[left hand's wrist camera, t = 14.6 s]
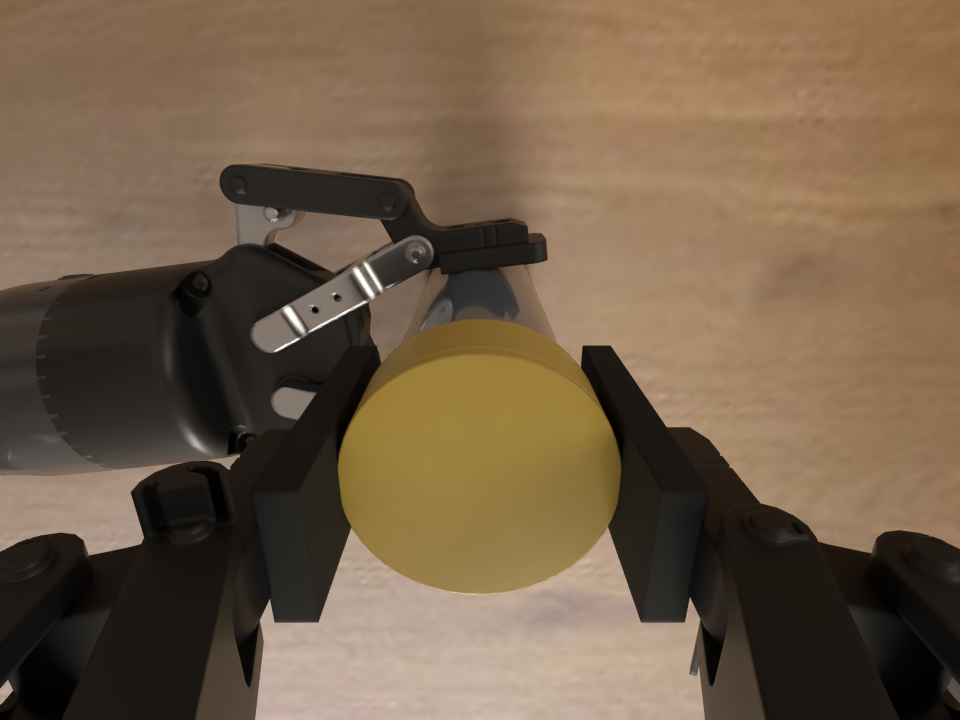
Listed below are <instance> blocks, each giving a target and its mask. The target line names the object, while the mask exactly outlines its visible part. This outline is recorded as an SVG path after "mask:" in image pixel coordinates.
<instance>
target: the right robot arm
mask: <svg viewBox="0 0 960 720" xmlns="http://www.w3.org/2000/svg"><path fill="white" fill-rule="evenodd" d="M220 187H221V190H222V192H223V194H224V195H225V196H226V197H227V198H228V199H229V200H230V201H232V202H234V203H235V207H236V222H237V237H238V245H237V246H235V247H233V248H231V249H230V250H228V251H227V252H226V253H225V254H224V255H223V256H221V257H220V258H219V259H216V260H210V261H202V262H194V263H186V264H178V265H171V266H163V267H155V268H147V269H139V270H131V271H124V272H116V273H108V274H100V275H93V274H78V275H68V276H63V277H62V278H59V279H58V280H54V281H46V282H39V283H33V284H27V285H21V286H16V287H12V288H9V289H5V290H2V291H0V475H34V476H58V475H71V474H81V473H90V472H99V471H109V470H118V469H127V468H136V467H146V466H154V465H164V464H173V463H182V462H190V461H200V460H209V459H219V458H226V457H231V456H236V455H239V454H241V453H242V452H243V451H244V449H245V448H246V447H247V446H248V444H249V443H250V442H251V441H252V440H254V439H255V438H257V437H258V436H260V435H261V434H263V433H265V432H266V431H268V430H269V429H292V428H293V426H294V425H295V423H296V422H297V421H298V419H299V418H300V416H301V415H302V413H303V412H304V410H305V409H306V407H307V406H308V405H309V403H310V402H311V400H312V399H313V397H314V396H315V394H316V393H317V391H318V390H319V389H320V387H321V386H322V384H323V383H324V381H325V380H326V378H327V377H328V375H329V374H330V373H331V371H332V370H333V368H334V367H335V365H336V364H337V362H338V361H339V359H340V358H341V357H342V355H343V354H344V352H345V351H346V349H347V348H348V346H375V344H374V342H373V340H372V338H371V336H370V322H371V313H370V308H369V303H368V302H369V301H371V300H372V299H374V298H376V297H377V296H378V295H380V294H381V293H382V292H384V291H386V290H387V289H389V288H391V287H393V286H395V285H397V284H399V283H401V282H402V281H404V280H406V279H408V278H410V277H412V276H414V275H415V274H417V273H419V272H421V271H423V270H425V269H432V268H440V270H441V275H445V274H453V273H461V272H466V271H475V270H485V269H493V268H501V267H509V266H517V265H525V264H533V263H539V262H543V261H546V260H547V259H548V257H547V244H546V238H545V237H544V236H543V234H541V233H531V234H528V227H527V225H526V224H525V222H523V221H519V220H516V219H512V218H506V219H498V220H490V221H484V222H475V223H467V224H459V225H452V226H438V225H435V224H433V223H432V222H430V221H429V220H428V219H427V218H426V217H425V215H424V213H423V211H422V210H421V208H420V206H419V204H418V202H417V200H416V198H415V192H414V189H413V187H412V186H411V184H410V183H409V182H407V181H406V180H404V179H400V178H391V177H382V176H373V175H364V174H355V173H345V172H336V171H327V170H318V169H309V168H300V167H291V166H282V165H273V164H242V165H230V166H228V167H226V168H225V169H224V170H223V171H222V173H221V175H220ZM305 211H307V212H316V213H326V214H335V215H344V216H354V217H363V218H372V219H380V220H381V222H382V224H383V225H384V227H385V229H386V231H387V232H388V234H389V236H390V238H391V240H392V241H391V242H389V243H388V244H386V245H384V246H382V247H380V248H378V249H376V250H374V251H372V252H370V253H368V254H366V255H364V256H363V257H361V258H359V259H357V260H355V261H354V262H352V263H350V264H348V265H346V266H345V267H343V268H341V269H339V270H337V271H335V272H334V273H333V272H331V271H329V270H327V269H325V268H323V267H321V266H319V265H317V264H315V263H313V262H311V261H309V260H308V259H306V258H304V257H302V256H300V255H298V254H296V253H294V252H292V251H290V250H288V249H286V248H284V247H282V246H280V245H278V244H276V243H274V237H275V234H276V233H277V231H278V230H284V229H287V228H290V227H293V226H295V225H298V224H299V223H300V222H301V221H302V220H303V218H304V215H305ZM377 355H378V368H379V366H380V365H381V360H380V356H379V352H378V350H377Z"/></svg>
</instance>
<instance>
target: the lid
mask: <svg viewBox="0 0 960 720" xmlns="http://www.w3.org/2000/svg"><path fill="white" fill-rule="evenodd" d="M621 470H622V463H621V454H620V451H619V447H618V443H617V439H616V437H615V435H614V432H613V430H612V428H611V426H610V423H609V421H608V419H607V417H606V415H605V413H604V411H603V409H602V407H601V405H600V403H599V401H598V399H597V397H596V395H595V392H594V390H593V388H592V386H591V384H590V382H589V380H588V378H587V377H586V375H585V374H584V372H583V370H582V369H581V367H580V366H579V365H578V364H577V363H576V361H575V360H574V359H573V358H572V357H571V355H569V354H568V353H567V352H566V351H565V350H564V349H563V348H561V347H560V346H559V345H558V344H556V343H555V342H553V341H552V340H550V339H549V338H547V337H546V336H544V335H542V334H540V333H538V332H536V331H534V330H532V329H530V328H527V327H524V326H521V325H518V324H515V323H510V322H505V321H500V320H491V319H468V320H459V321H454V322H448V323H445V324H441V325H438V326H435V327H432V328H429V329H427V330H425V331H423V332H421V333H419V334H417V335H415V336H413V337H412V338H410V339H409V340H407V341H405V342H404V343H402V344H401V345H400V346H399V347H398V348H396V349H395V350H394V351H393V352H392V353H391V354H390V355H389V356H388V357H387V358H386V359H385V360H384V361H383V363H382V364H381V365H380V366H379V368H378V369H377V371H376V372H375V374H374V375H373V377H372V378H371V380H370V382H369V385H368V387H367V389H366V391H365V393H364V395H363V397H362V399H361V401H360V403H359V405H358V407H357V409H356V411H355V413H354V415H353V417H352V419H351V421H350V423H349V426H348V428H347V430H346V432H345V434H344V436H343V439H342V443H341V446H340V450H339V454H338V475H339V484H340V492H341V500H342V507H343V510H344V513H345V515H346V517H347V519H348V521H349V523H350V525H351V527H352V529H353V530H354V532H355V533H356V535H357V536H358V538H359V539H360V540H361V542H362V543H363V544H364V545H365V546H366V547H367V548H368V549H369V551H370V552H371V553H372V554H373V555H374V556H376V557H377V558H378V559H379V560H380V561H382V562H383V563H384V564H385V565H387V566H388V567H390V568H391V569H393V570H394V571H396V572H397V573H399V574H401V575H403V576H405V577H407V578H409V579H411V580H413V581H415V582H418V583H420V584H423V585H426V586H428V587H432V588H435V589H439V590H443V591H448V592H454V593H461V594H476V595H481V594H498V593H505V592H512V591H516V590H520V589H524V588H528V587H531V586H533V585H536V584H539V583H542V582H544V581H546V580H548V579H550V578H552V577H554V576H556V575H558V574H560V573H562V572H563V571H565V570H566V569H568V568H569V567H571V566H572V565H574V564H575V563H576V562H577V561H579V560H580V559H581V558H582V557H584V556H585V555H586V554H587V553H588V552H589V551H590V549H591V548H592V547H593V546H594V545H595V544H596V543H597V542H598V540H599V539H600V538H601V536H602V535H603V533H604V532H605V530H606V529H607V527H608V525H609V523H610V521H611V519H612V518H613V515H614V512H615V510H616V507H617V503H618V496H619V488H620V479H621Z"/></svg>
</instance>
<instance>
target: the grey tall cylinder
mask: <svg viewBox="0 0 960 720" xmlns="http://www.w3.org/2000/svg"><path fill="white" fill-rule="evenodd" d="M468 319H491V320H500V321H505V322H510V323H515V324H518V325H521V326H524V327H527V328H530V329H532V330H534V331H536V332H538V333H540V334H542V335H544V336H546V337H547V338H549V339H550V340H552V341H553V342H555V343H556V344H558V343H557V341H556V338H555V336H554V333H553V331H552V329H551V326H550V324H549V321H548V319H547V317H546V314H545V312H544V309H543V307H542V305H541V302H540V300H539V297H538V295H537V292H536V290H535V288H534V285H533V283H532V280H531V278H530V276H529V273H528V271H527V269H526V267H525V265H517V266H509V267H501V268H493V269H485V270H475V271H466V272H461V273H453V274H445V275H441V270H440V268H433V270H432V272H431V275H430V277H429V279H428V282H427V284H426V287H425V289H424V291H423V294H422V296H421V299H420V301H419V303H418V306H417V308H416V310H415V313H414V315H413V318H412V320H411V322H410V325H409V327H408V330H407V332H406V334H405V337H404V339H403V342H402V343H404V342H405V341H407V340H409V339H410V338H412V337H413V336H415V335H417V334H419V333H421V332H423V331H425V330H427V329H429V328H432V327H435V326H438V325H441V324H445V323H448V322H454V321H459V320H468Z"/></svg>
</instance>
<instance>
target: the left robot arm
mask: <svg viewBox="0 0 960 720" xmlns="http://www.w3.org/2000/svg"><path fill="white" fill-rule="evenodd" d="M377 369H378V355H377V346H348V348H347V349H346V351H345V352H344V354H343V355H342V357H341V358H340V359H339V361H338V362H337V364H336V365H335V367H334V368H333V370H332V371H331V373H330V374H329V375H328V377H327V378H326V380H325V381H324V383H323V384H322V386H321V387H320V389H319V390H318V391H317V393H316V394H315V396H314V397H313V399H312V400H311V402H310V403H309V405H308V406H307V407H306V409H305V410H304V412H303V413H302V415H301V416H300V418H299V419H298V421H297V422H296V423H295V425H294V426H293V428H292V429H269V430H268V431H266V432H265V433H263V434H261V435H260V436H258V437H257V438H255V439H254V440H252V441H251V442H250V443H249V444H248V446H247V447H246V448H245V449H244V451H243V452H242V453H241V454H240V458H237V459H236V461H235V462H234V463H233V464H232V466H231V469H230V470H228V469H227V468H225V467H224V466H223V465H222V464H220V463H216V462H211V461H190V462H186V463H181V464H177V465H173V466H170V467H167V468H165V469H162V470H160V471H158V472H155V473H153V474H152V475H150V476H149V477H147V478H145V479H144V480H142V481H141V482H139V484H138V485H137V486H136V487H135V488H134V489H133V490H132V491H131V495H132V498H133V502H134V505H135V508H136V512H137V515H138V518H139V522H140V525H141V528H142V532H143V535H144V539H143V541H142V543H141V544H140V545H136V546H133V547H128V548H123V549H119V550H114V551H109V552H104V553H100V554H95V555H90V556H89V555H88V552H87V549H86V546H85V544H84V541H83V540H82V539H81V538H79V537H78V536H77V535H75V534H67V533H55V534H48V535H41V536H37V537H33V538H31V539H27V540H24V541H21V542H18V543H16V544H15V545H13V546H11V547H9V548H7V549H5V550H3V551H1V552H0V688H1V687H2V686H3V685H4V684H5V682H6V681H7V680H9V682H10V684H11V686H12V689H13V691H12V693H11V694H10V695H9V696H8V697H7V699H6V700H5V701H4V702H3V703H2V704H1V705H0V720H255V715H256V706H257V697H258V688H259V679H260V670H261V661H262V652H263V643H264V641H263V635H262V629H261V624H260V618H261V616H262V614H263V612H264V610H265V608H266V606H267V604H268V602H269V599H270V601H271V606H272V611H273V616H274V621H275V622H319V619H320V616H321V613H322V610H323V608H324V605H325V602H326V599H327V596H328V593H329V590H330V587H331V584H332V581H333V579H334V576H335V573H336V570H337V567H338V564H339V561H340V558H341V555H342V553H343V550H344V547H345V544H346V541H347V538H348V535H349V532H350V529H351V525H350V523H349V521H348V519H347V517H346V515H345V513H344V510H343V507H342V500H341V492H340V484H339V475H338V454H339V450H340V446H341V443H342V439H343V436H344V434H345V432H346V430H347V428H348V426H349V423H350V421H351V419H352V417H353V415H354V413H355V411H356V409H357V407H358V405H359V403H360V401H361V399H362V397H363V395H364V393H365V391H366V389H367V387H368V385H369V382H370V380H371V378H372V377H373V375H374V374H375V372H376V371H377ZM581 369H582V370H583V372H584V374H585V375H586V377H587V378H588V380H589V382H590V384H591V386H592V388H593V390H594V392H595V395H596V397H597V399H598V401H599V403H600V405H601V407H602V409H603V411H604V413H605V415H606V417H607V419H608V421H609V423H610V426H611V428H612V430H613V432H614V435H615V437H616V439H617V443H618V447H619V451H620V454H621V463H622V470H621V479H620V488H619V496H618V503H617V507H616V510H615V512H614V515H613V518H612V519H611V521H610V523H609V525H608V528H609V531H610V534H611V537H612V539H613V542H614V545H615V548H616V551H617V554H618V557H619V560H620V563H621V566H622V568H623V571H624V574H625V577H626V580H627V583H628V586H629V589H630V592H631V595H632V597H633V600H634V603H635V606H636V609H637V612H638V615H639V618H640V621H641V622H685V618H686V613H687V608H688V603H689V598H691V600H692V602H693V604H694V606H695V608H696V611H697V613H698V615H699V617H700V619H701V620H700V624H699V629H698V634H697V638H696V643H695V648H694V653H693V657H692V662H691V668H690V675H694V676H697V672H698V667H699V669H700V678H701V686H702V695H703V704H704V713H705V720H960V549H958V548H956V547H954V546H952V545H950V544H948V543H946V542H945V541H943V540H941V539H938V538H935V537H932V536H931V537H930V536H929V535H925V534H921V533H915V532H908V531H901V530H898V531H889V532H884V533H883V534H881V535H880V536H879V537H877V539H876V541H875V544H874V547H873V550H872V553H867V552H862V551H857V550H852V549H847V548H843V547H838V546H833V545H828V544H825V543H821V542H818V540H817V538H816V536H815V535H814V534H813V532H812V531H811V530H810V528H809V527H808V526H807V525H806V524H805V523H803V522H802V521H801V520H799V519H798V518H796V517H795V516H794V515H792V514H789V513H787V512H785V511H783V510H781V509H779V508H776V507H772V506H768V505H764V504H761V503H760V502H759V501H758V500H757V499H756V497H755V496H754V495H753V494H752V492H751V491H750V490H749V489H748V487H747V486H746V485H745V484H744V483H743V481H742V480H741V479H740V478H739V476H738V475H737V474H736V473H735V471H734V470H733V469H732V468H729V464H728V463H727V461H726V460H725V459H724V458H723V456H720V453H719V452H718V450H717V449H716V448H715V447H714V445H713V444H712V443H711V442H710V440H709V439H707V438H706V437H704V436H703V435H701V434H699V433H698V432H696V431H695V430H693V429H691V428H690V427H666V426H665V424H664V423H663V421H662V420H661V418H660V417H659V415H658V414H657V413H656V411H655V410H654V408H653V407H652V405H651V404H650V402H649V401H648V399H647V398H646V397H645V395H644V394H643V392H642V391H641V389H640V388H639V386H638V385H637V383H636V382H635V381H634V379H633V378H632V376H631V375H630V373H629V372H628V370H627V369H626V367H625V366H624V365H623V363H622V362H621V360H620V359H619V357H618V356H617V354H616V353H615V351H614V350H613V349H612V347H611V346H583V349H582V361H581Z"/></svg>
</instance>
